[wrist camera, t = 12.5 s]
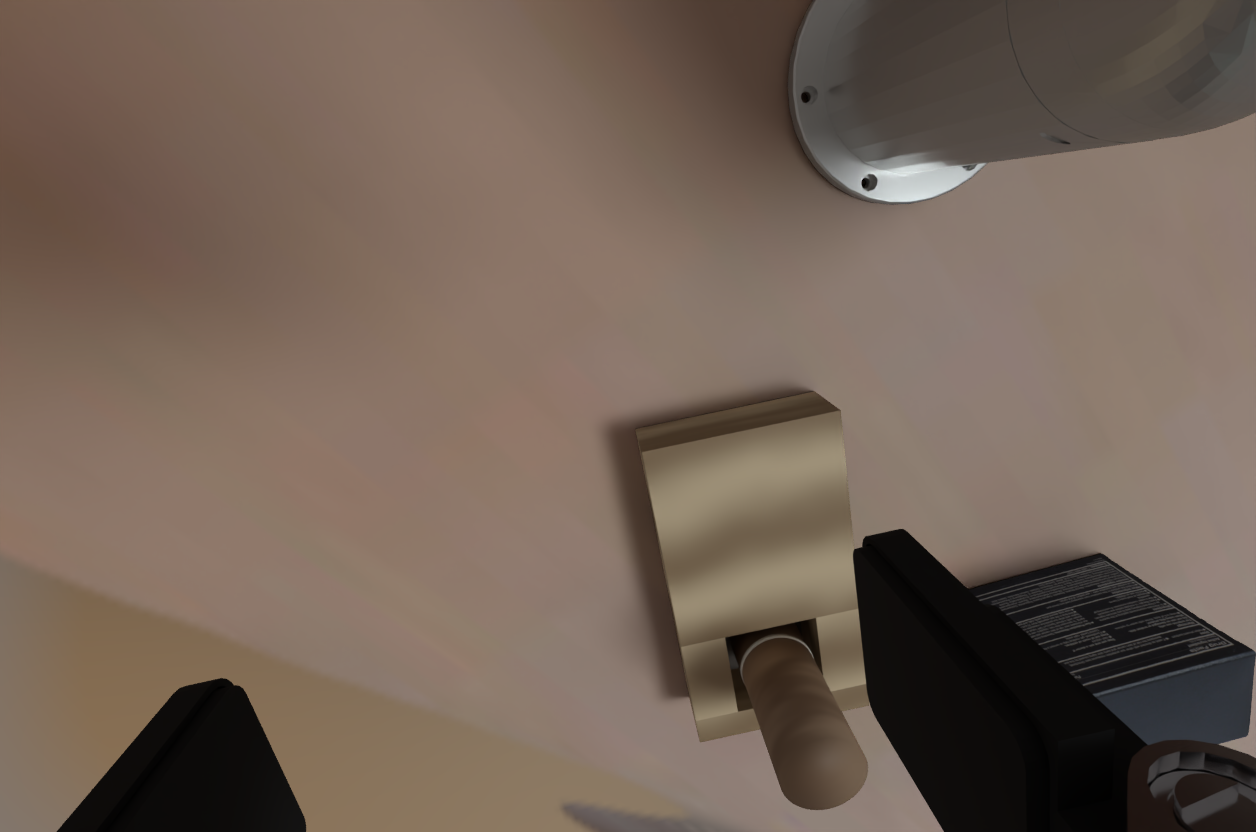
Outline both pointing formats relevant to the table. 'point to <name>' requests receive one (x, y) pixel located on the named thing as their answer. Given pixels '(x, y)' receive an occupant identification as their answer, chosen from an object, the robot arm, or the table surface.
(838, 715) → the peg
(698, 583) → the board
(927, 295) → the table surface
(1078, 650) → the small box
